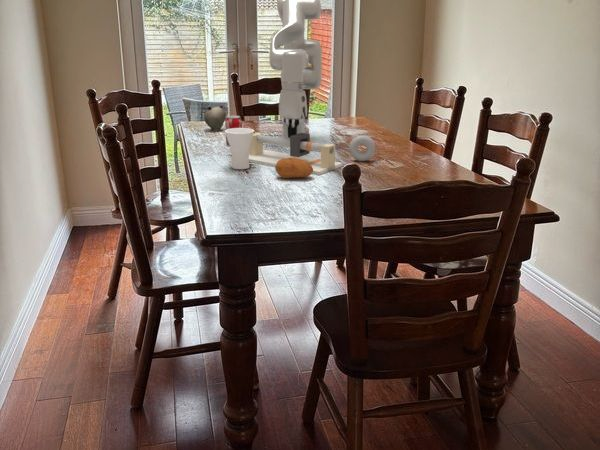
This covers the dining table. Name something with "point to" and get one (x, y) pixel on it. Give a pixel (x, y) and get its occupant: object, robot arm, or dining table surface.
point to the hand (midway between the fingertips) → (292, 137)
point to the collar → (298, 144)
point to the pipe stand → (273, 157)
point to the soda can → (232, 123)
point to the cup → (240, 146)
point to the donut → (358, 141)
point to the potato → (293, 168)
